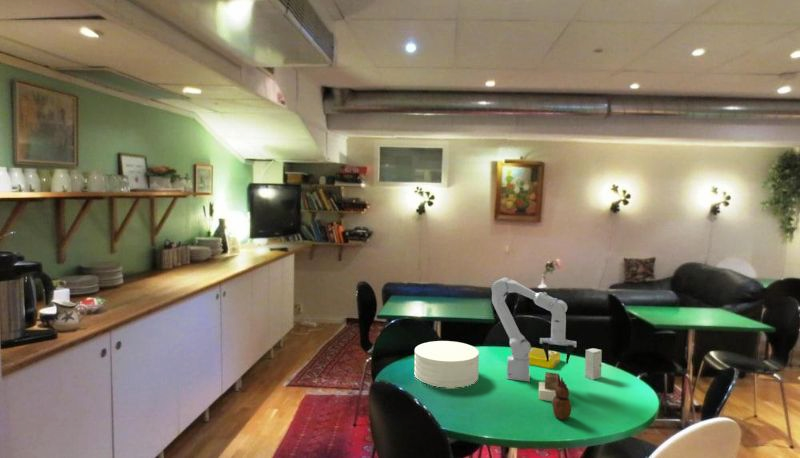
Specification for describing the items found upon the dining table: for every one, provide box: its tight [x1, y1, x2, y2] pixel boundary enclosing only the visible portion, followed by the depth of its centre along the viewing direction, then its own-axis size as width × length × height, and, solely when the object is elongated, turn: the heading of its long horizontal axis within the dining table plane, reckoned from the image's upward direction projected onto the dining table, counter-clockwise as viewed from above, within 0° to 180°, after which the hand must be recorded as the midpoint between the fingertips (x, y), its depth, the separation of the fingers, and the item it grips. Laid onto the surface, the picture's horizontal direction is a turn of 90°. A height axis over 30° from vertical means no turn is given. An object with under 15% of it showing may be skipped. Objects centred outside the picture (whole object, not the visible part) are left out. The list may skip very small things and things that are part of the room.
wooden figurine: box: [551, 374, 572, 421], centre depth 168 cm, size 7×6×15 cm
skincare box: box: [584, 347, 603, 380], centre depth 207 cm, size 6×4×12 cm
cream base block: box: [538, 381, 556, 402], centre depth 187 cm, size 9×9×4 cm
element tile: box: [528, 346, 562, 370], centre depth 227 cm, size 15×15×5 cm
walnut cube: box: [544, 371, 560, 390], centre depth 186 cm, size 5×5×5 cm
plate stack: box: [413, 340, 480, 389], centre depth 207 cm, size 28×28×12 cm
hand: (557, 361), depth 198 cm, fingers open, 7 cm apart
